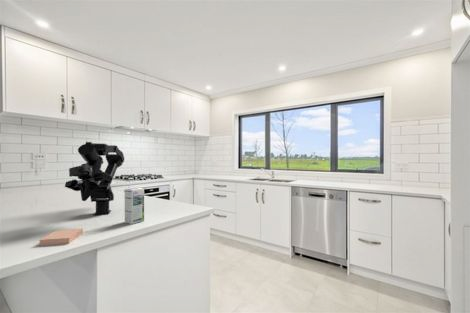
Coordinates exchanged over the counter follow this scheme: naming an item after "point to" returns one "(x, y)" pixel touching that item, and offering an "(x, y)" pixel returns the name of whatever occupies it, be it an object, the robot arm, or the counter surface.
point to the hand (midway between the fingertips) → (83, 200)
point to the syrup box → (134, 205)
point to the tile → (61, 237)
